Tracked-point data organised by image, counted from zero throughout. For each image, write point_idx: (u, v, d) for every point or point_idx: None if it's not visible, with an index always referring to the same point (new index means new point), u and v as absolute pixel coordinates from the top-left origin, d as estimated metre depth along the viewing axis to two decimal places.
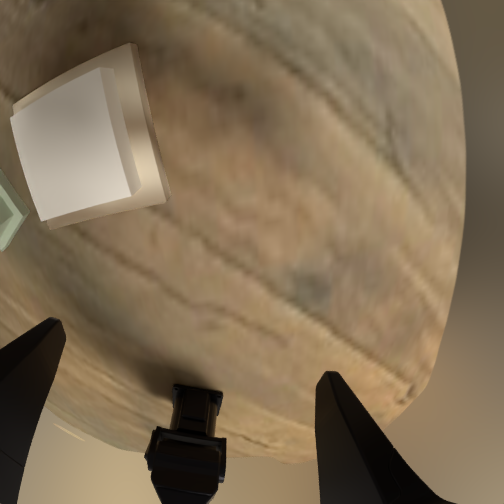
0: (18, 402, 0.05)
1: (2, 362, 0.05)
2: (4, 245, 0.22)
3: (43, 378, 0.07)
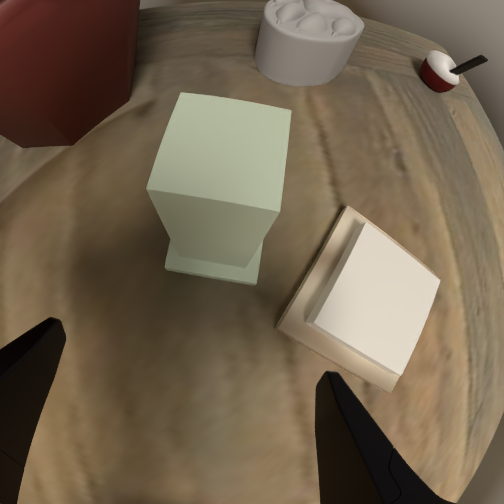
0: (18, 402, 0.05)
1: (1, 362, 0.05)
2: (180, 268, 0.21)
3: (43, 378, 0.07)
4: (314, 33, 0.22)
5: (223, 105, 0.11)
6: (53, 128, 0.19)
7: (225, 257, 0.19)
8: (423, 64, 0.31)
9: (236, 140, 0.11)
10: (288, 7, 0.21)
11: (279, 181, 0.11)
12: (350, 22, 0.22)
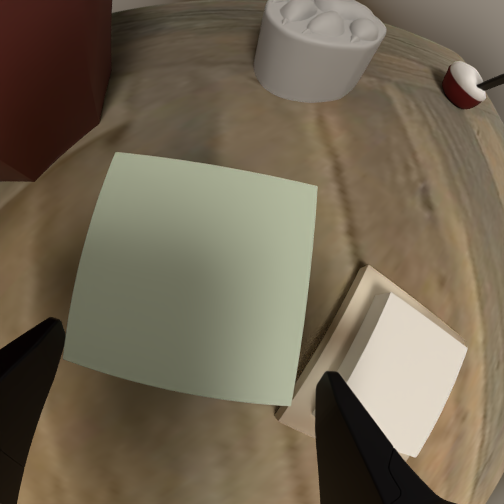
0: (18, 402, 0.05)
1: (1, 362, 0.05)
2: None
3: (43, 378, 0.07)
4: (329, 37, 0.17)
5: (188, 180, 0.06)
6: (6, 165, 0.14)
7: None
8: (446, 76, 0.26)
9: (211, 263, 0.06)
10: (296, 3, 0.16)
11: (292, 349, 0.06)
12: (373, 24, 0.17)
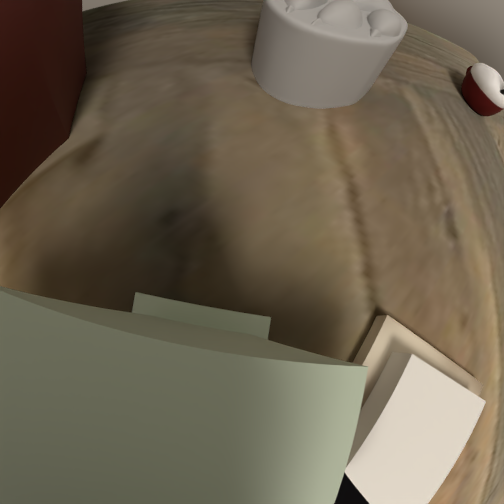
0: None
1: None
2: None
3: None
4: (345, 29, 0.13)
5: (85, 369, 0.02)
6: None
7: None
8: (467, 79, 0.22)
9: None
10: None
11: None
12: (395, 17, 0.13)
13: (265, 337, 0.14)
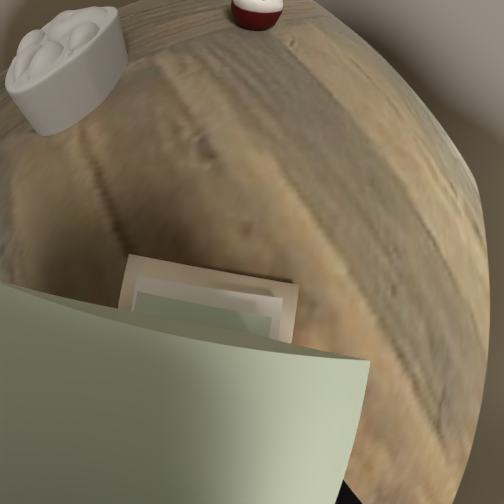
0: None
1: None
2: None
3: None
4: (44, 70, 0.15)
5: (96, 363, 0.03)
6: None
7: None
8: (232, 8, 0.25)
9: None
10: (18, 59, 0.14)
11: None
12: (83, 27, 0.15)
13: (266, 336, 0.14)
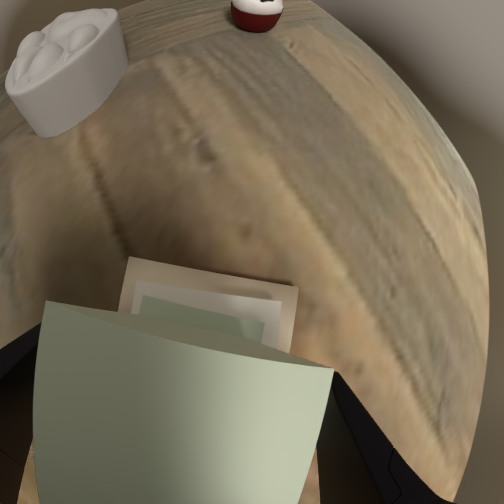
0: (18, 402, 0.05)
1: (2, 363, 0.05)
2: None
3: None
4: (44, 73, 0.15)
5: (146, 366, 0.04)
6: None
7: None
8: (231, 10, 0.26)
9: (186, 472, 0.04)
10: (18, 60, 0.14)
11: None
12: (83, 29, 0.15)
13: (259, 340, 0.16)
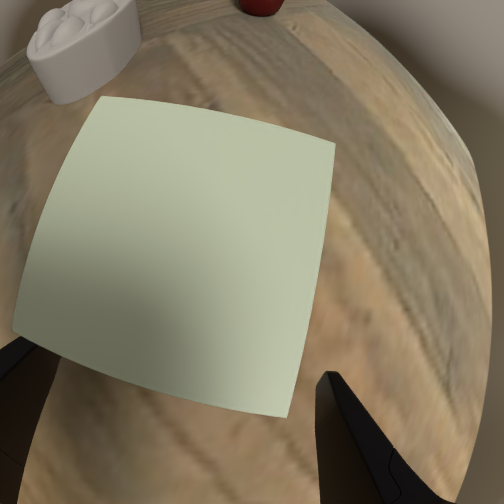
0: (18, 402, 0.05)
1: (2, 363, 0.05)
2: None
3: (43, 378, 0.07)
4: (66, 41, 0.16)
5: (178, 125, 0.05)
6: None
7: None
8: None
9: (196, 222, 0.05)
10: (41, 31, 0.15)
11: (294, 342, 0.04)
12: (104, 4, 0.16)
13: None
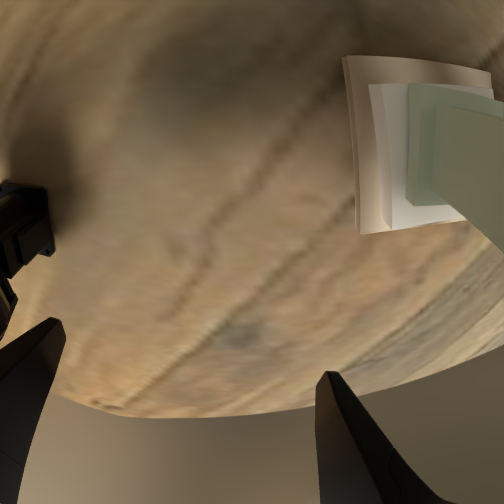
0: (18, 402, 0.05)
1: (1, 362, 0.05)
2: (422, 105, 0.12)
3: (43, 378, 0.07)
4: None
5: None
6: None
7: (459, 178, 0.11)
8: None
9: None
10: None
11: None
12: None
13: None
